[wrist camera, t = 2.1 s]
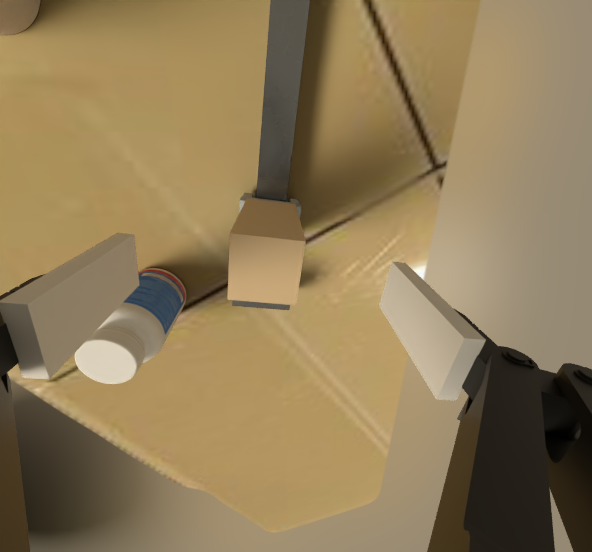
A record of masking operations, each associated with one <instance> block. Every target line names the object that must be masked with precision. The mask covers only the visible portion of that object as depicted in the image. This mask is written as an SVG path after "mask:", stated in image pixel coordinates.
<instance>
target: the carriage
mask: <svg viewBox="0 0 592 552" xmlns="http://www.w3.org/2000/svg"><path fill="white" fill-rule="evenodd" d="M301 209H302V207H301V204H300V203H299V200H298V199H291V198H290V202H284V201H276V200H268V199H260V198H253V194H250V193H244V195H243V196H242V197H241V199H240V204H239V215H238V217H237V220H236V222H235V224H234V226H233V228H232V230H231V232H230V244H229V271H228V298H227V300H237V301H249V302H261V303H274V304H286V305H296V302H297V296H298V289H299V283H300V276H301V270H302V263H303V257H304V250H305V244H306V240H305V237H304V233H303V229H302V226H301V222H300V216H301Z"/></svg>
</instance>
